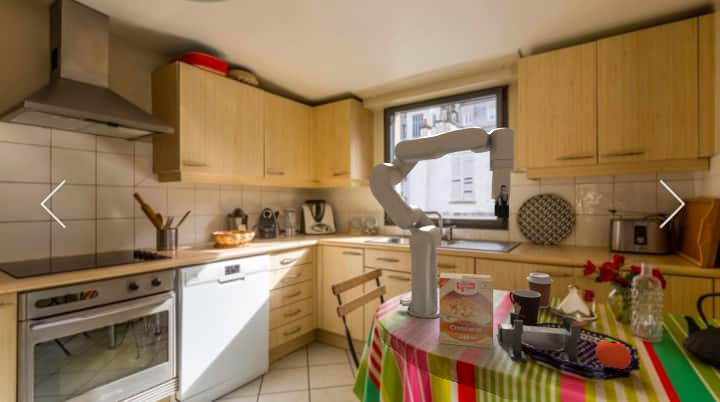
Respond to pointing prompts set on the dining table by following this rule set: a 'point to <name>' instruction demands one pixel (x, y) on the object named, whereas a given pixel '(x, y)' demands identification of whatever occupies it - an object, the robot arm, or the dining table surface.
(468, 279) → the coffeecake box
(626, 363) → the tomato
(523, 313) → the coffee mug
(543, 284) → the coffee cup
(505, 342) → the flat grey plate
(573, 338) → the right post
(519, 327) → the left post
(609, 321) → the dining table surface
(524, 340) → the steel rail
